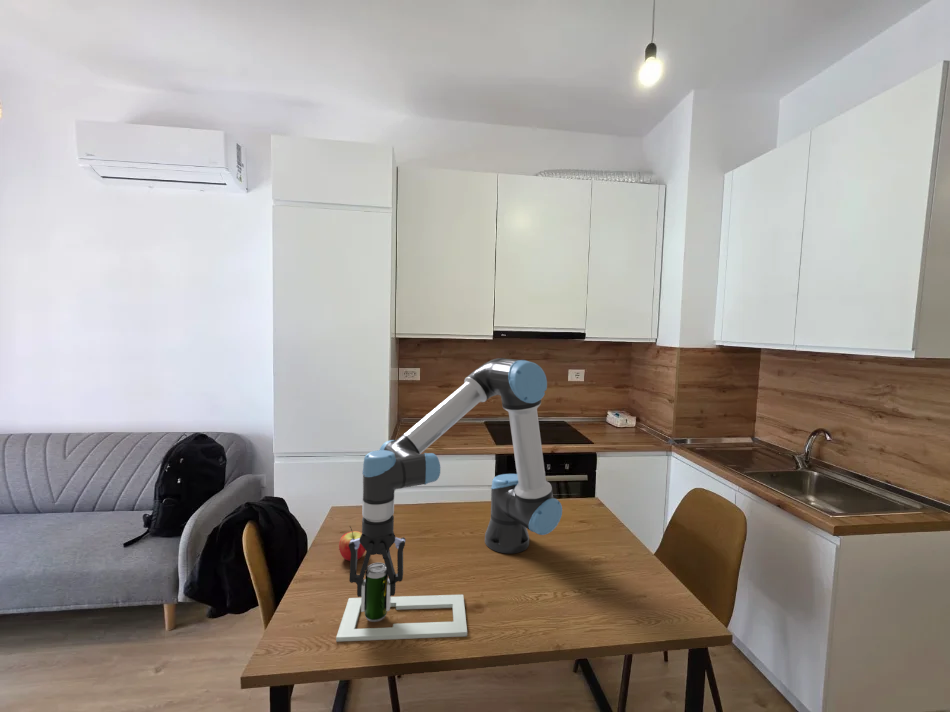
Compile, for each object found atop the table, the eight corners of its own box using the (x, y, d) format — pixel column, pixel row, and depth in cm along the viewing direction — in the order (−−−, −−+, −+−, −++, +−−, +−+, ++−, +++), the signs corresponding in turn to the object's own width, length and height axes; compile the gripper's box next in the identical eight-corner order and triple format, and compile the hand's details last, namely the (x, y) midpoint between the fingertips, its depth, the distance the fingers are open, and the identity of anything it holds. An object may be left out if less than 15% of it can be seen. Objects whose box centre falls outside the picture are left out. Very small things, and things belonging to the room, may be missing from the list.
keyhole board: (463, 598, 111) (463, 594, 111) (467, 636, 97) (467, 632, 97) (348, 601, 108) (348, 598, 108) (336, 641, 94) (336, 637, 94)
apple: (355, 548, 134) (355, 518, 134) (372, 557, 129) (373, 526, 129) (333, 559, 128) (333, 527, 127) (350, 569, 123) (351, 536, 122)
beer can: (364, 624, 98) (365, 575, 98) (364, 609, 104) (365, 563, 103) (387, 621, 100) (388, 573, 99) (386, 606, 105) (387, 561, 104)
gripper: (416, 508, 105) (414, 596, 106) (342, 509, 103) (341, 599, 104) (415, 522, 98) (412, 616, 99) (335, 523, 96) (334, 619, 97)
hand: (376, 607), depth 102 cm, fingers closed on beer can, 5 cm apart
